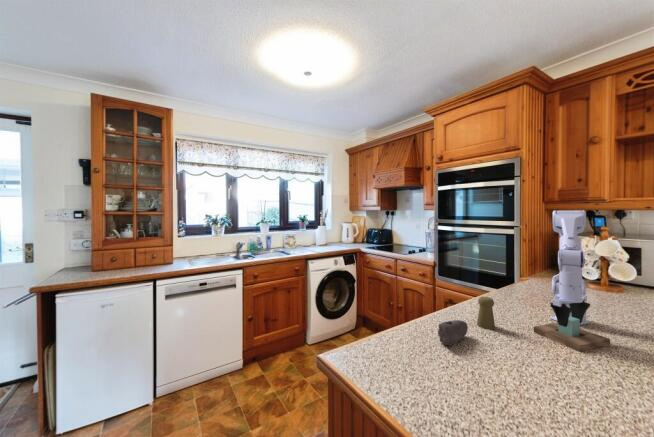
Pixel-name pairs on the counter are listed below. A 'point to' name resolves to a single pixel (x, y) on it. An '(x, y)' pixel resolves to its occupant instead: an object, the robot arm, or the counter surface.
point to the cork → (486, 313)
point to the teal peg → (571, 327)
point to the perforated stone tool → (452, 331)
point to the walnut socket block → (577, 343)
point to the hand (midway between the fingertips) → (569, 324)
